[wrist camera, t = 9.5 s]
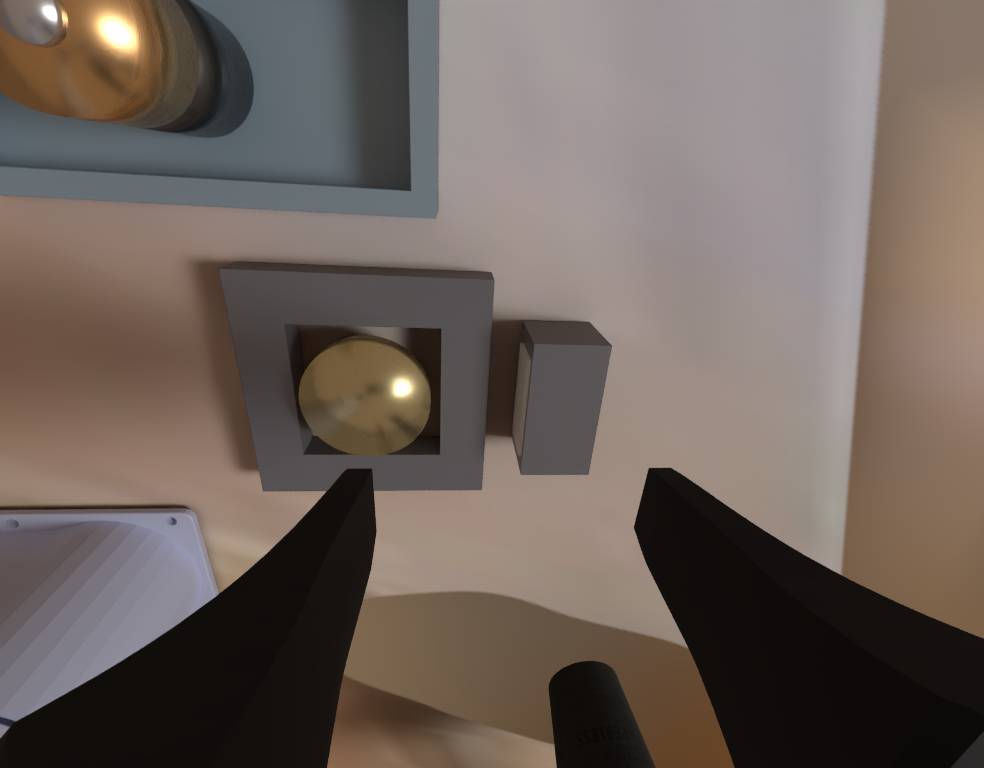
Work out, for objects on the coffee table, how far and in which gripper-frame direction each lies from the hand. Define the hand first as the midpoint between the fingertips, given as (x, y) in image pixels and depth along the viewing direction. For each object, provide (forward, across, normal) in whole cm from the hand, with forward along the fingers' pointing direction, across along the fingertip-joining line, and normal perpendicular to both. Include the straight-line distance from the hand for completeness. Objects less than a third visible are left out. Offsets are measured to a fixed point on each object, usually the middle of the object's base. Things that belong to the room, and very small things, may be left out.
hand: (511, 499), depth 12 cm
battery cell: (+9, +10, -10) cm, 17 cm away
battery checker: (+9, +3, +1) cm, 10 cm away
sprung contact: (+8, +5, +1) cm, 9 cm away
